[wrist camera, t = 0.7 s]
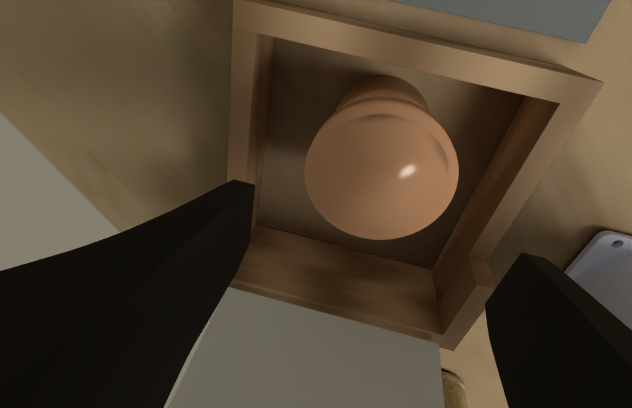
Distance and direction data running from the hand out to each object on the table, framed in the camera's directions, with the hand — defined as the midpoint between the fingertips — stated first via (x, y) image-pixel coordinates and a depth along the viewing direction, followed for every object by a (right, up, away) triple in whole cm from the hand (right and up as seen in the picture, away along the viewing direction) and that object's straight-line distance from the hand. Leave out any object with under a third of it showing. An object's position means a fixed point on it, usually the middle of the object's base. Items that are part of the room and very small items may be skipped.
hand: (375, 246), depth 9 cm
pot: (+2, +5, +8) cm, 10 cm away
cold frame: (+1, +3, +10) cm, 10 cm away
